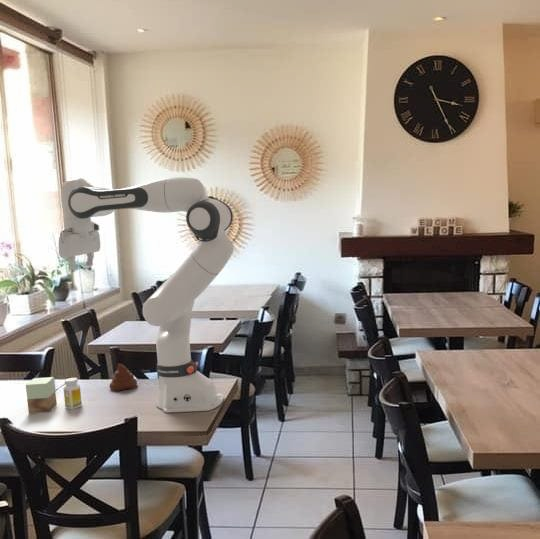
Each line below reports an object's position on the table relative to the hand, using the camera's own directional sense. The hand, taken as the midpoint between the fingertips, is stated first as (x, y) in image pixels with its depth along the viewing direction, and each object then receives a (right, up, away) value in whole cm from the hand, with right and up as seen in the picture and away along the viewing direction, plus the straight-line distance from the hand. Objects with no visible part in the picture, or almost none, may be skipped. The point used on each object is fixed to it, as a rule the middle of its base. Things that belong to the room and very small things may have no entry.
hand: (82, 267), depth 197 cm
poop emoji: (+9, -45, +19) cm, 50 cm away
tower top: (-14, -44, 0) cm, 46 cm away
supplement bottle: (-3, -48, +1) cm, 48 cm away
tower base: (-14, -48, +1) cm, 50 cm away
